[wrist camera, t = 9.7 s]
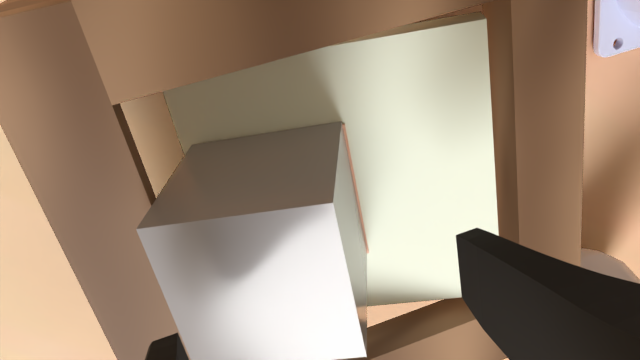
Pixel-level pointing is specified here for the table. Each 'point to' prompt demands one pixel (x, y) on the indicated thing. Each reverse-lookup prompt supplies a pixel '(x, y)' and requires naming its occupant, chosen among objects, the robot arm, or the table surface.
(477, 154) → the trapdoor
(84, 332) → the table surface
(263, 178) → the pale grey cube
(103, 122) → the trapdoor frame
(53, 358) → the table surface
